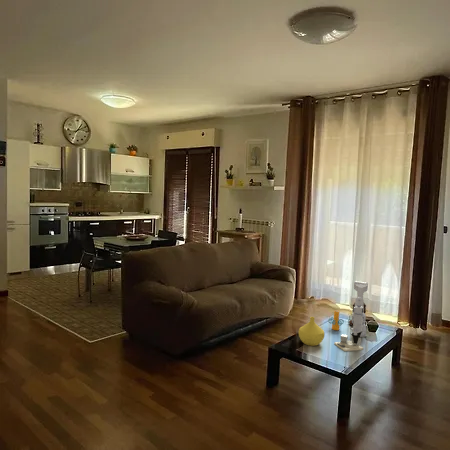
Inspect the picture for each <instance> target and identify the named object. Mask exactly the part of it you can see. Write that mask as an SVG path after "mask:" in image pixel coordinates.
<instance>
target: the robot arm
mask: <svg viewBox="0 0 450 450" xmlns="http://www.w3.org/2000/svg"><path fill="white" fill-rule="evenodd" d="M368 288H369V283H368V282H365V281H358V280H355V281H354V282H353V290H354V291H355V292H357V294H356V298H355V301H354V303H355V307H354V312H352V315H351V320H352V323H353V325H352V327H351V328H350V329H351V330H352V332H350V334H351V335H352V337H353V340H354V343H355V344H357V343H358V339H359V337H367V327H366V325H365V322H366V313H365V314H364V307H363V304H364V303H365V299H364V293H365V292H368V290H369V289H368Z"/></svg>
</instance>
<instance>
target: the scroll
mask: <svg viewBox="0 0 450 450" xmlns="http://www.w3.org/2000/svg"><path fill="white" fill-rule="evenodd" d="M354 307H355V302H354V303H353V304H352V310H351V311H352V313H353V312H354ZM363 307H364V312H363V313H364V314H365V315H366V314H367V313H366V312H367V310H366V309H367V305H366V303H365V302H364V304H363ZM348 324H349V325H351V326H353V323H352V319H350V320H349V321H348Z"/></svg>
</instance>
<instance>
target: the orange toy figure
mask: <svg viewBox="0 0 450 450" xmlns="http://www.w3.org/2000/svg"><path fill="white" fill-rule="evenodd" d="M327 321H328V323H329V324H331V329H332V330H333V331H340V327H341V326H342V325H344V323H345V321H344V319H343V318H340V310H338V309H337V310H336V309H335V310H334V311H333V316H331V318H328V320H327Z"/></svg>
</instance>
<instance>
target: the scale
mask: <svg viewBox="0 0 450 450" xmlns="http://www.w3.org/2000/svg"><path fill="white" fill-rule="evenodd" d="M340 342H341V341H336V342H335V341H334V343H333V344H334V345H335V346H336V347H338V348H340V350H341V351H344V352H351V351H363V350H364V347H363V346H361V345H355V344H352V340H349V339H348V340H347V343H346V344H345V343H340Z"/></svg>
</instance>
